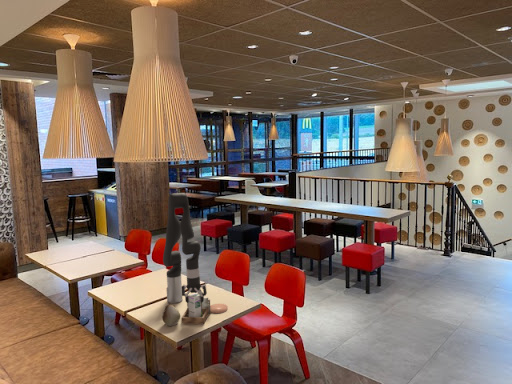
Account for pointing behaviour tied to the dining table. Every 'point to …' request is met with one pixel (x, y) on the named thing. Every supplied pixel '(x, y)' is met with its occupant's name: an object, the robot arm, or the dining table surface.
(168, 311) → the fruit
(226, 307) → the saucer
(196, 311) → the syrup box
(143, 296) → the dining table surface
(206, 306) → the frame
